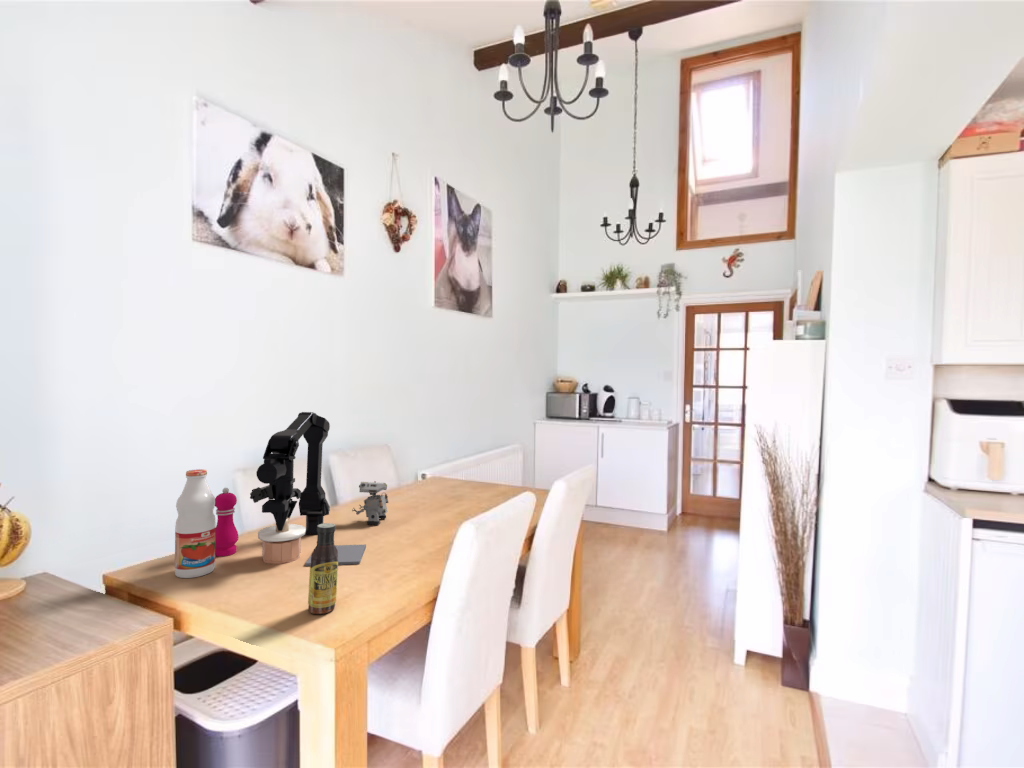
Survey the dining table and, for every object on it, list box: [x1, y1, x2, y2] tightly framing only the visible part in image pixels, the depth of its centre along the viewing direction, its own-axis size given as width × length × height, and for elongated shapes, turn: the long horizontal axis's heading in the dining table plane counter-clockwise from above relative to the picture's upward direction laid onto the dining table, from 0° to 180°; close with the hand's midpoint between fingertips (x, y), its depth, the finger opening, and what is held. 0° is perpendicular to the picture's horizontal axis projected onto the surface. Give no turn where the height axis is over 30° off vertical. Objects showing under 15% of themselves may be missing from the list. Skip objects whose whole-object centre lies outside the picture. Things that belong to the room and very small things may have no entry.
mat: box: [305, 544, 367, 567], centre depth 154 cm, size 15×15×1 cm
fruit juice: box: [174, 468, 217, 579], centre depth 139 cm, size 9×9×28 cm
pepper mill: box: [214, 487, 239, 557], centre depth 154 cm, size 7×7×20 cm
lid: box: [257, 518, 306, 542], centre depth 151 cm, size 13×13×5 cm
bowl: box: [261, 536, 302, 565], centre depth 151 cm, size 10×10×6 cm
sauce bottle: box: [307, 522, 339, 615], centre depth 119 cm, size 6×6×20 cm
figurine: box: [351, 480, 389, 526], centre depth 190 cm, size 9×12×15 cm
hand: (282, 528), depth 151 cm, fingers closed on lid, 4 cm apart
